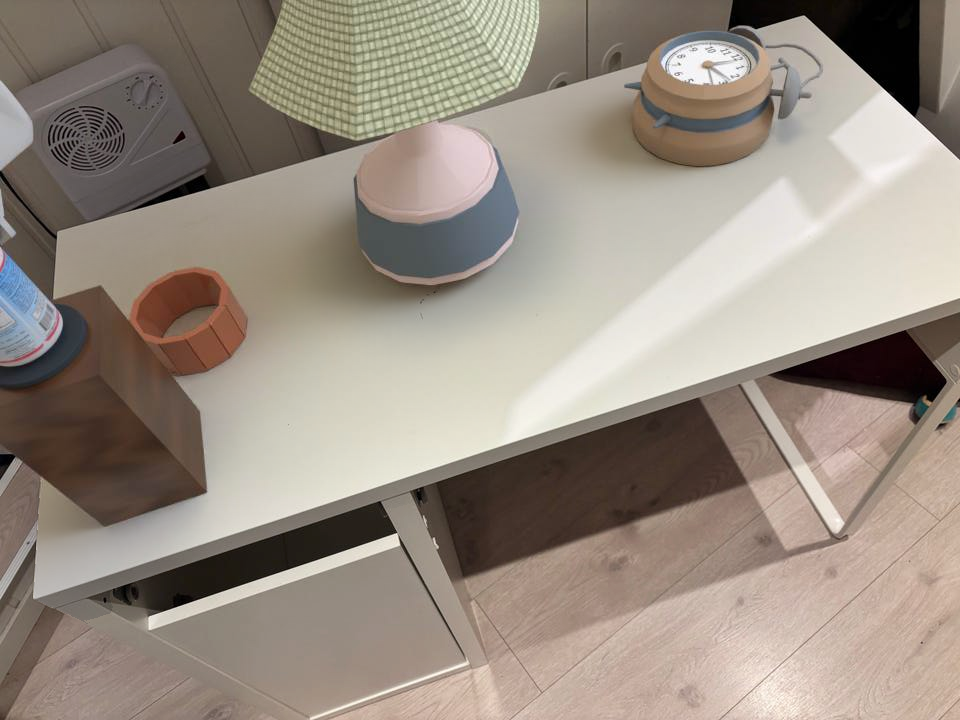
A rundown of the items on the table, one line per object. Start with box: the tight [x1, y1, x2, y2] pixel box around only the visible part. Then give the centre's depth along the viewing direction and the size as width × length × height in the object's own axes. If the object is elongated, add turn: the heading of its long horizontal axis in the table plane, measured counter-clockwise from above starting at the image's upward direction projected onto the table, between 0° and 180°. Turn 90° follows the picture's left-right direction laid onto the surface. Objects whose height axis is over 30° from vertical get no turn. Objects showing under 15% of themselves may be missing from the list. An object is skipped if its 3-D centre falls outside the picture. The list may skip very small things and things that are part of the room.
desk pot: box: [128, 266, 248, 376], centre depth 81 cm, size 11×11×6 cm
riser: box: [0, 284, 208, 527], centre depth 66 cm, size 10×10×19 cm
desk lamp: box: [248, 0, 540, 286], centre depth 72 cm, size 26×28×42 cm
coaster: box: [0, 304, 87, 389], centre depth 58 cm, size 8×8×1 cm
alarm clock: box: [623, 25, 824, 167], centre depth 91 cm, size 17×9×23 cm
